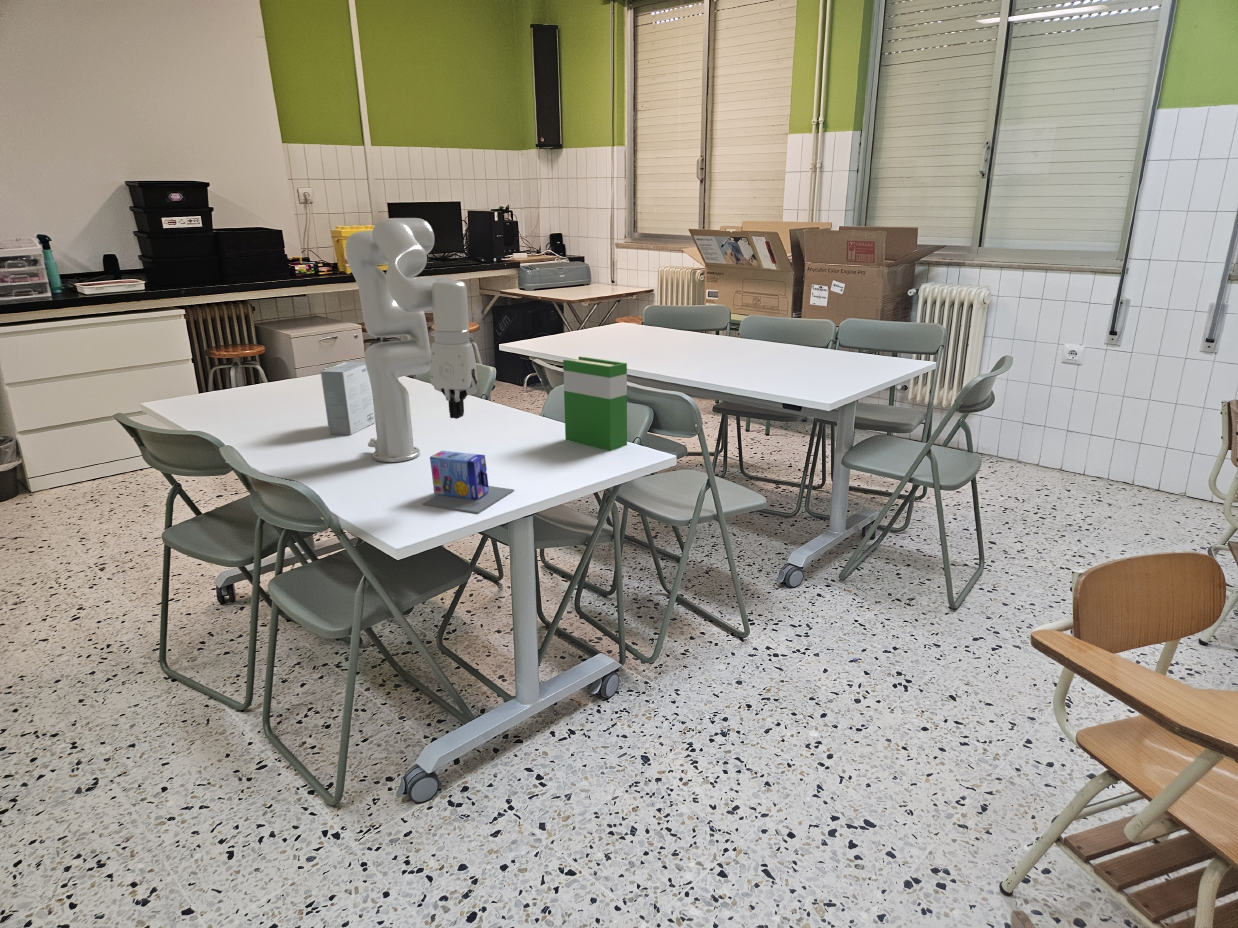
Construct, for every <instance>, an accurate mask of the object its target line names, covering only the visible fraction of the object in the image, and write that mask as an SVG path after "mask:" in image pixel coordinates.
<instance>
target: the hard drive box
mask: <svg viewBox="0 0 1238 928" xmlns="http://www.w3.org/2000/svg"><path fill="white" fill-rule="evenodd" d="M320 377H321V387H322V391H323V399H324V405H325V406H324V407H325V413H326V420H327V427H328V433H329V435H339V436H341V435H342V436H351V435H353V434H355V433H358V432H360V431H361V430H363V429H365V428H367V427H369V425H370V426H371V425H373V424H375V415H374V406H373V397H372V390H371V384H370V379H369V375H368V371H367V368H366V364H365V361H363V362H362V361H346V362H345V361H344V362H343V363H340V364H337V365H335V366H332V367H329V368H327V369H324V370H321V371H320Z"/></svg>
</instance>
